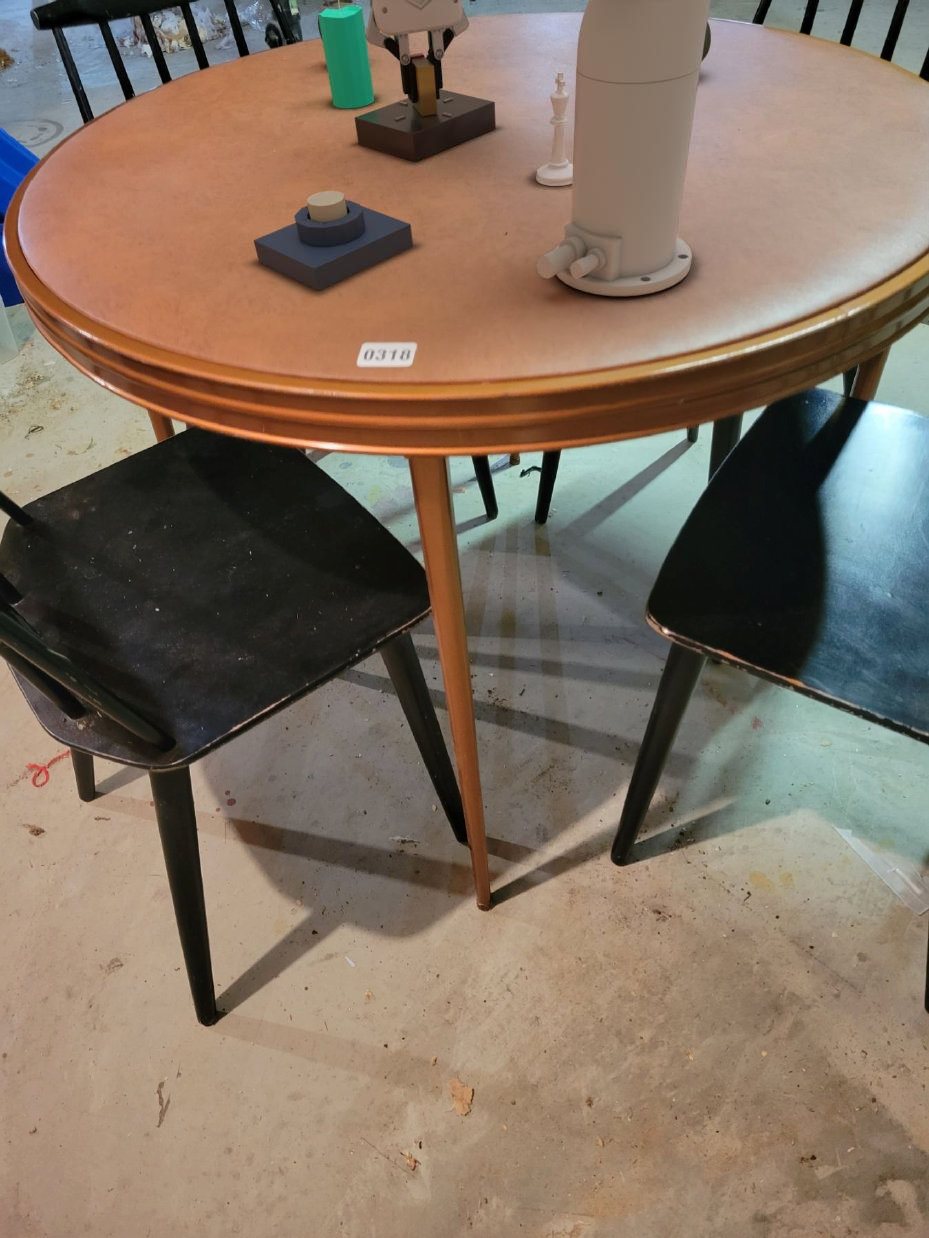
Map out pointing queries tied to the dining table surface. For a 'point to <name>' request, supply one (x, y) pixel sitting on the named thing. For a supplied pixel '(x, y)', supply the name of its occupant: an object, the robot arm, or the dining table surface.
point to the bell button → (327, 206)
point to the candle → (347, 56)
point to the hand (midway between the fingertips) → (423, 97)
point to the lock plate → (425, 125)
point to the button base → (333, 245)
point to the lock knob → (425, 85)
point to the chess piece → (557, 142)
